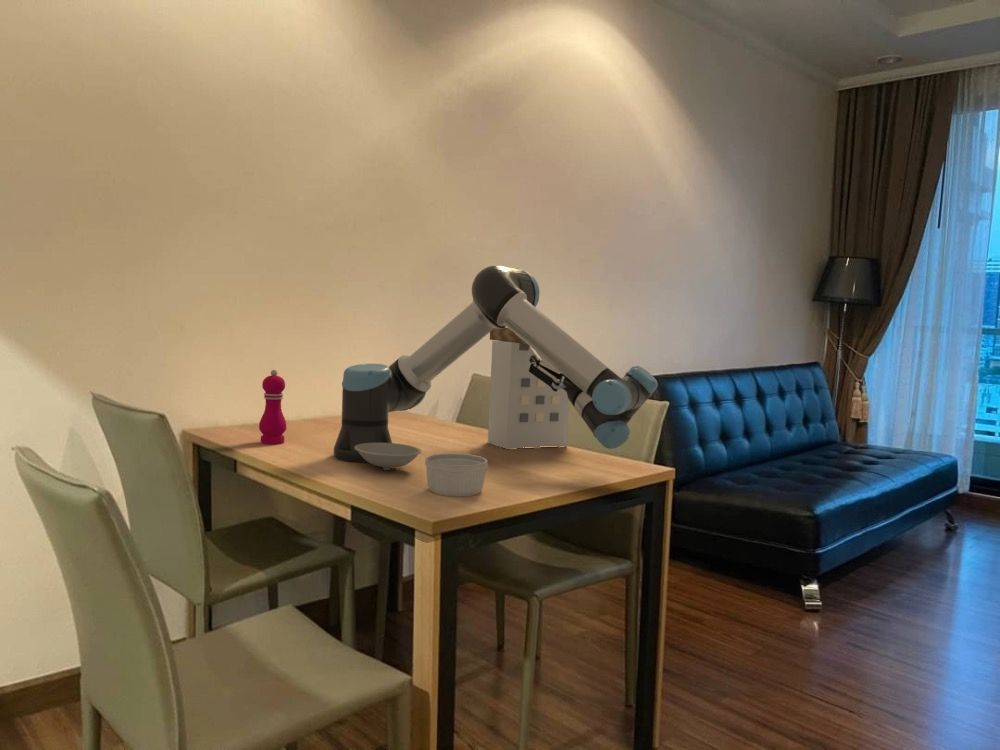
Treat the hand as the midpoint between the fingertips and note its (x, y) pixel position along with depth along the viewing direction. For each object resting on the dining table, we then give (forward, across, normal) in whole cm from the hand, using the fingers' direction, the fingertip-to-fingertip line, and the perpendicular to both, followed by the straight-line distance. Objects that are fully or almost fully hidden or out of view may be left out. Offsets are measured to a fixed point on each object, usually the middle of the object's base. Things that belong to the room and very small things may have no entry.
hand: (551, 350), depth 206 cm
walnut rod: (+16, 0, +8) cm, 18 cm away
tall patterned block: (+3, -5, +35) cm, 35 cm away
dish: (-18, +46, +23) cm, 54 cm away
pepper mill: (+17, +65, +44) cm, 80 cm away
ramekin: (-40, +39, +11) cm, 56 cm away
